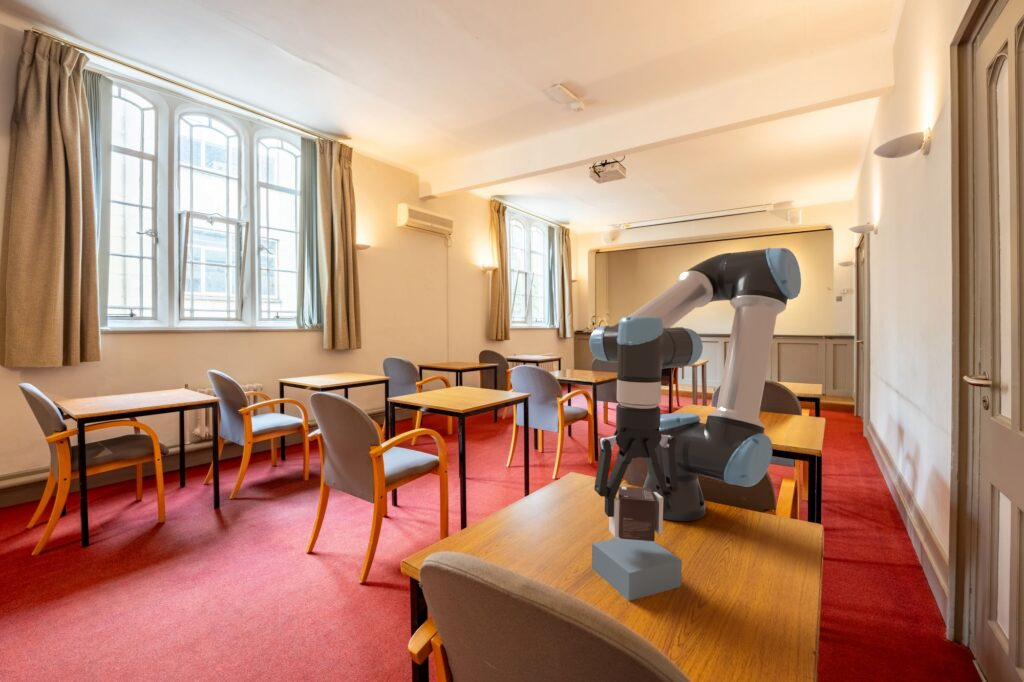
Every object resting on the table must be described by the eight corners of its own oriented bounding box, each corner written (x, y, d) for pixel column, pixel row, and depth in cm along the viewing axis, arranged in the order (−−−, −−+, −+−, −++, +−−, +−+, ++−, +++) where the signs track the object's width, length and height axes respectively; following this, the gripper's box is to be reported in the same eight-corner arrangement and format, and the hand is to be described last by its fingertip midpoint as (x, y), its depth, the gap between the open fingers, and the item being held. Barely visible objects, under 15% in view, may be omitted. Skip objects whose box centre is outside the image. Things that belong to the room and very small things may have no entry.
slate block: (640, 558, 91) (640, 532, 90) (681, 588, 80) (681, 559, 80) (591, 569, 86) (592, 543, 86) (628, 602, 76) (629, 573, 76)
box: (655, 543, 79) (656, 500, 79) (618, 539, 81) (619, 497, 80) (651, 527, 85) (652, 488, 85) (617, 524, 86) (618, 485, 86)
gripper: (680, 399, 88) (677, 519, 88) (576, 401, 84) (574, 526, 85) (703, 406, 80) (699, 537, 81) (590, 409, 77) (587, 546, 78)
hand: (635, 531), depth 83 cm, fingers closed on box, 7 cm apart
